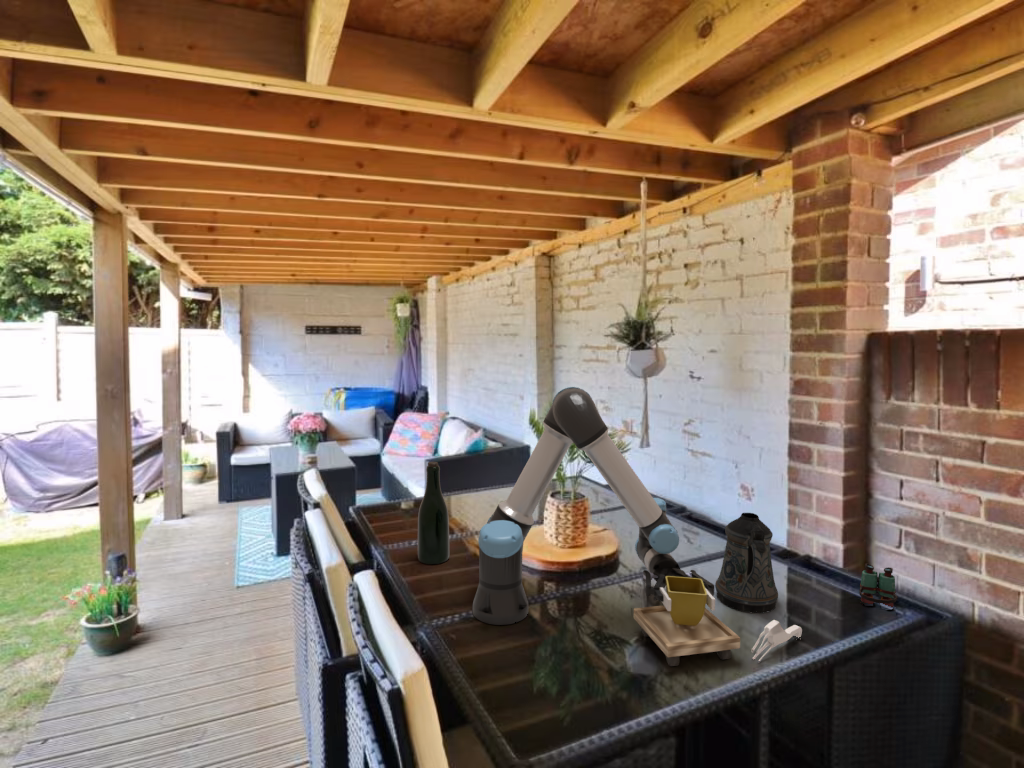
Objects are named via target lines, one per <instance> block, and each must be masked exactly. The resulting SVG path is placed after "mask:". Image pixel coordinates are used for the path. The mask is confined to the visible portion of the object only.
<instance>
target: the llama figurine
mask: <svg viewBox="0 0 1024 768" xmlns="http://www.w3.org/2000/svg"><path fill="white" fill-rule="evenodd" d="M802 632H803V629H802V627H801V626H798V625H796V624H793V625H791V626H789V627H787V628H786V629H784V628H783V627H782V625H781V623H780V621H778V620H775V619H773V620H771V621H770V622H768V623H767V624H766V625H765V626H764V628H763V631H762V632H761V633H760V634H759V636H758V639H757V640H756V641H755V644H754V645H753V647H752V648H751V647H750V652H751V653H752V654H754V652H755V649H756V648H757V647H758V645H759V643H760V641H761V638H762V637H763V636H764V637H763V639H762V642H761V645H760V646H759V647H758V649H757V650H756V652H755V654H754V656H753V657H751V659H753V660H754V659H755V660H756V658H757V657H758V656H759V655H760V654H761V653H762V652H763V651H764V650H765V649H766V648H767V647H769V648H768V649H767V650H766V651H765V652H764V653H763V655H762V656H760V658H759V659H758V661H760V662H761V660H762V659H763V658H764V657H765V656H766V655H767V654H768V652H769V651H770V650H772V649H773V648H775V647H777V646H778V645H780V644H782V643H785V642H787V641H788V640H790V639H791V638H793V636H796V637H798V638H799V637H801V636H802ZM766 640H767V641H766ZM763 644H764V645H763ZM758 661H757V662H758Z"/></svg>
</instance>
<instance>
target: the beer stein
mask: <svg viewBox="0 0 1024 768" xmlns="http://www.w3.org/2000/svg"><path fill="white" fill-rule="evenodd" d="M724 530H725V535H726V542H725V543H726V545H725V547H724V553H723V554H724V555H723V560H722V564H721V569H720V572H719V575H718V578H717V579H716V581H715V584H714V588H715V590H716V591H715V592H716V597H717V599H718V600H719V602H720V603H722V604H723V605H725V606H726V607H728V608H731V609H734V610H736V611H740V612H745V613H750V612H752V614H764V613H768V612H767V611H769V612H772V611H773V610H774V609H775V608H776V606H777V602H778V599H779V592H778V588H777V586H776V583H775V576H774V572H773V563H772V554H771V547H770V546H771V545H770V544H771V542H772V538H773V532H772V531H771V529H770V527H768V525H767V524H765V523H764V522H763V521H762V520H761V519H760V517H759V515H758V514H756V513H753V512H742V513H741V515H740V516H738V518H736V519H733V520H731V521H730V522H728V523H727V524H726V526H725V528H724ZM772 609H773V610H772ZM771 610H772V611H771ZM763 612H764V613H763Z"/></svg>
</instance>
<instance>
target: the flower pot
mask: <svg viewBox="0 0 1024 768" xmlns="http://www.w3.org/2000/svg"><path fill="white" fill-rule="evenodd" d="M665 578H666V586H665V588H666V589H665V591H666V593H667V594H668V596H669V598H670V599H671V611H670V615H671V618H672V620H673V622H674V623H675V624H681V625H691V626H696V625H697V624H698V623H699V622H700V621H701V619H702V617H703V615H704V611H705V608H706V606H707V604H706V599H707V592H706V589H705V587H704V584H703V581H702V579H699V578H687V577H675V576H666V577H665Z"/></svg>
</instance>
